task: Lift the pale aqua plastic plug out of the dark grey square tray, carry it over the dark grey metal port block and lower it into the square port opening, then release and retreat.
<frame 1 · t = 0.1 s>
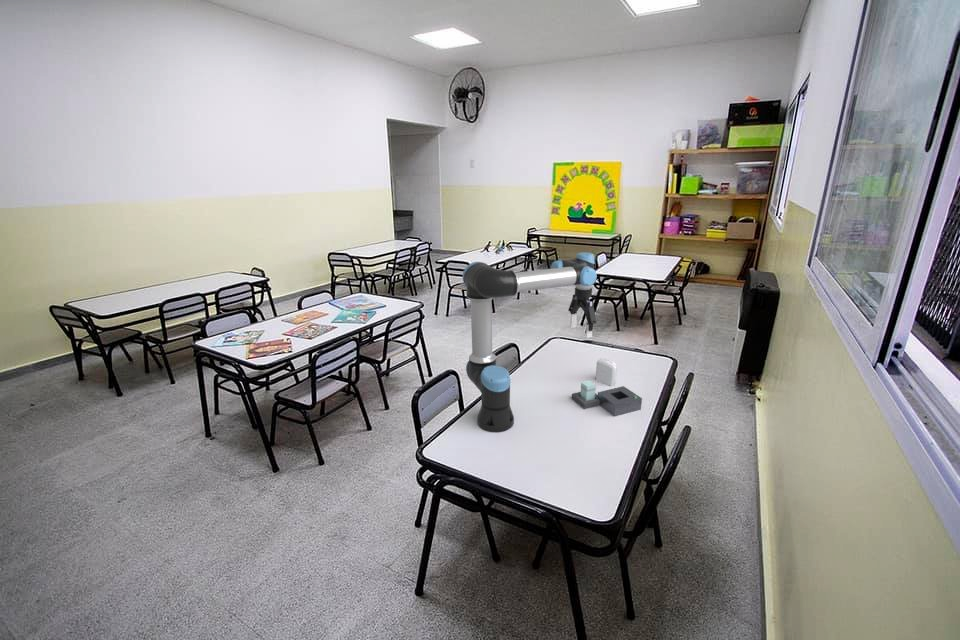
hand: (580, 332, 202), 28 cm above the table, fingers open, 13 cm apart
port block: (618, 407, 191), on the table
dark grey square tray: (587, 402, 196), on the table
plug: (587, 401, 196), resting on dark grey square tray
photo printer: (605, 383, 213), on the table
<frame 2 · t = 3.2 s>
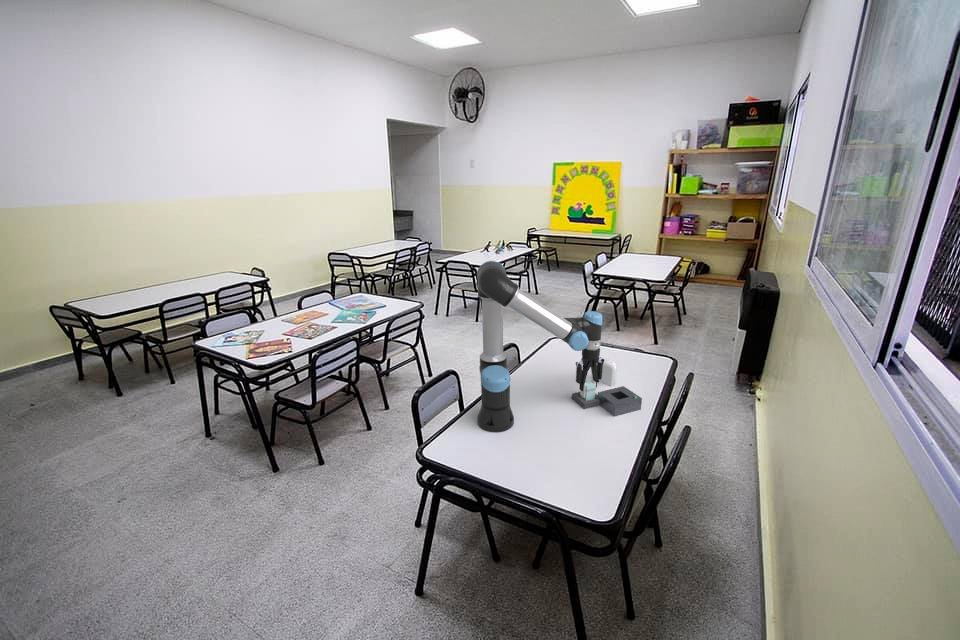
hand: (587, 395, 195), 4 cm above the table, fingers closed on plug, 5 cm apart
plug: (587, 401, 196), point 1 cm above the table, touching gripper, dark grey square tray
everything else where it was.
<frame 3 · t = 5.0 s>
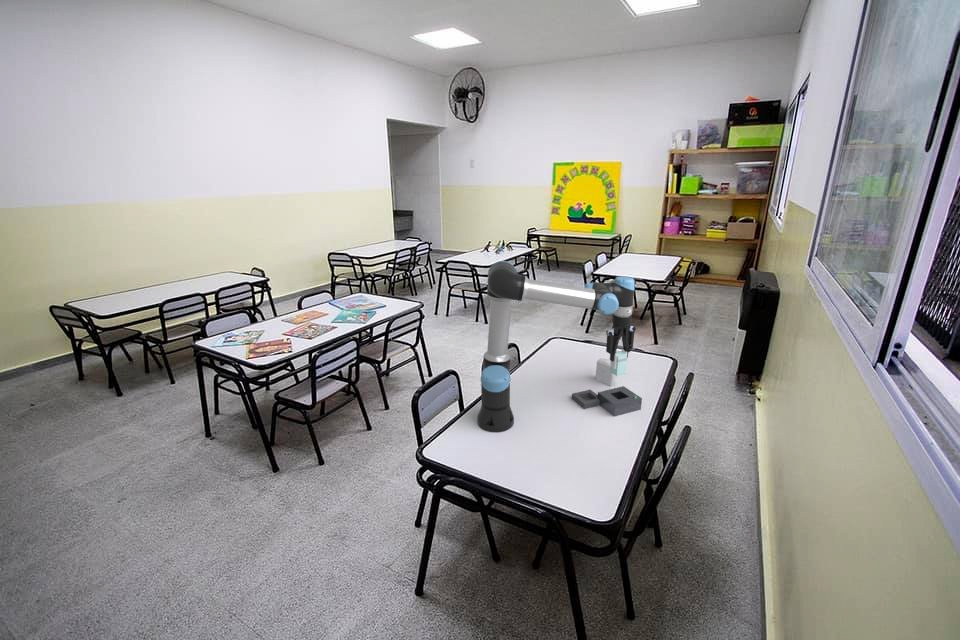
hand: (618, 366, 186), 20 cm above the table, fingers closed on plug, 5 cm apart
plug: (617, 372, 187), point 16 cm above the table, touching gripper
everything else where it was.
when the fingers open (7 cm above the table, at t = 7.1 s): plug drops 2 cm, resting on port block.
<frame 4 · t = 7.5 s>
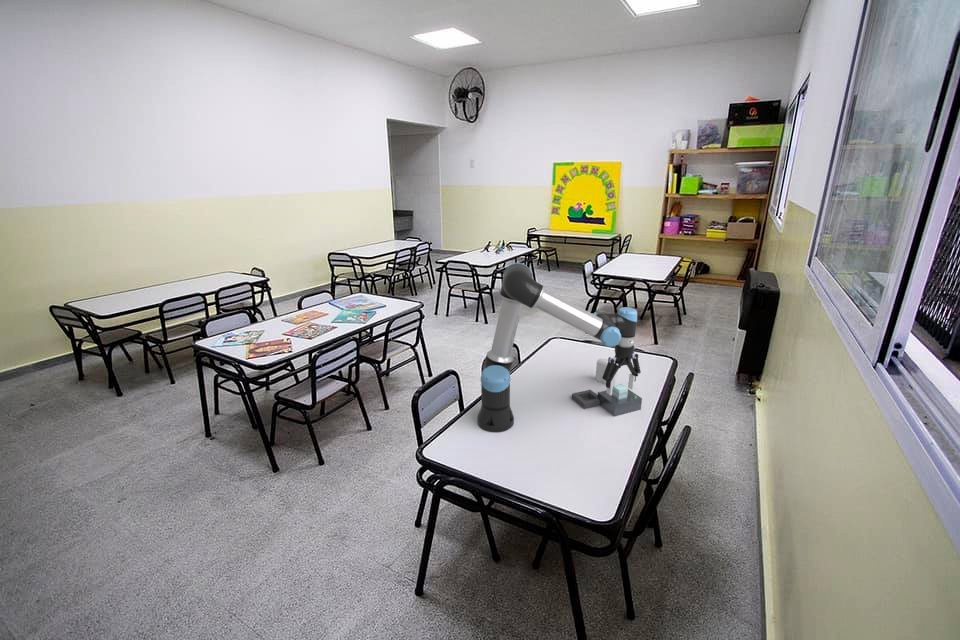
hand: (620, 391, 189), 8 cm above the table, fingers open, 11 cm apart
plug: (618, 405, 191), point 1 cm above the table, touching port block
everything else where it was.
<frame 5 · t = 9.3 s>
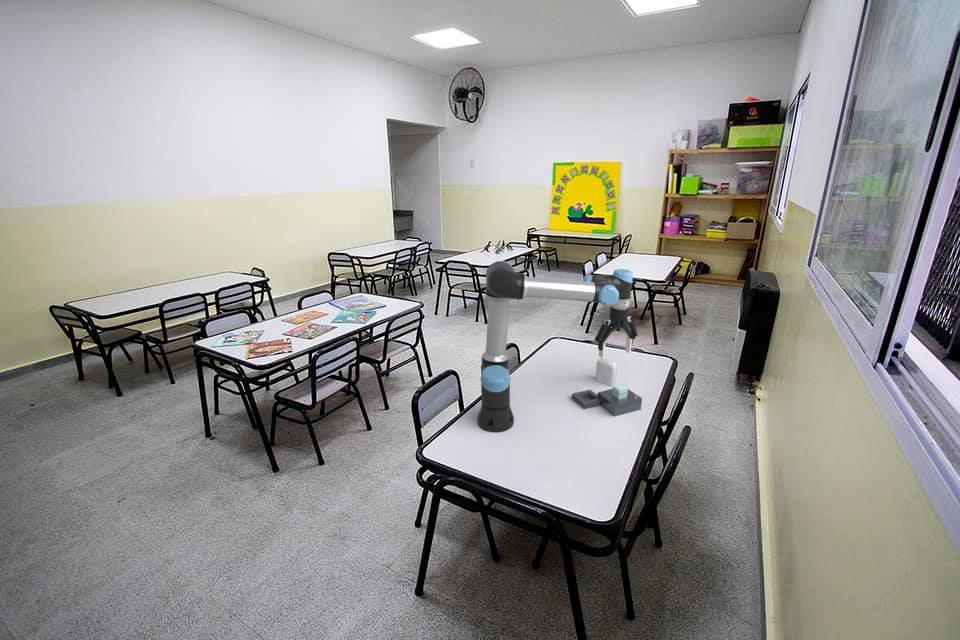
hand: (614, 354, 187), 24 cm above the table, fingers open, 13 cm apart
nothing on the table moved.
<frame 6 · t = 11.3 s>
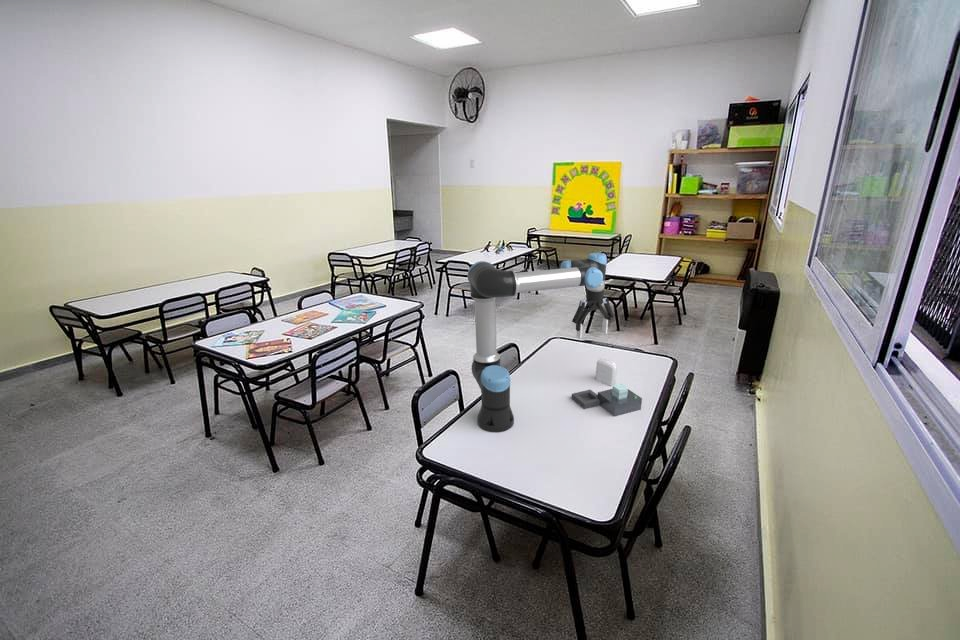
hand: (591, 335, 195), 29 cm above the table, fingers open, 13 cm apart
nothing on the table moved.
at the end: plug 0.0 cm off-centre on the port block, point 1.0 cm above the port block's base; plug tilted 0°; the gripper is holding nothing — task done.
